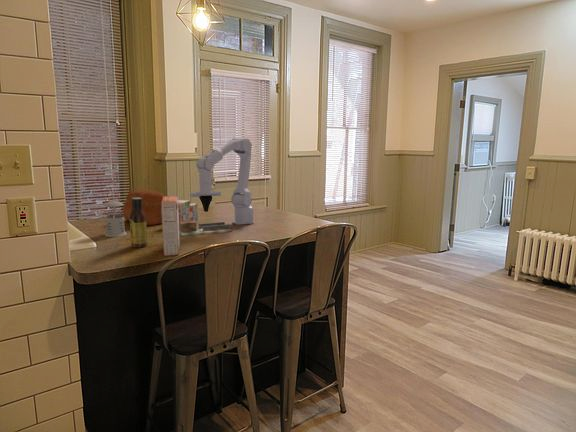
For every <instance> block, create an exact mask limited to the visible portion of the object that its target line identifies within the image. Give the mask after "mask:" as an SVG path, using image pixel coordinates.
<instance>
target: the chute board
mask: <svg viewBox="0 0 576 432" xmlns="http://www.w3.org/2000/svg"><path fill="white" fill-rule="evenodd" d="M231 232H233V230H232V229H230V228H229V229H221V230H210V231H203V228H199V226H197V231H189V232H181V231H180V230H179V236H180V237H188V236H189V237H190V236H200V235H211V234H212V235H213V234H221V233H231Z"/></svg>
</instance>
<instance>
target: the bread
mask: <svg viewBox="0 0 576 432" xmlns="http://www.w3.org/2000/svg"><path fill="white" fill-rule="evenodd" d="M137 197H139V198H142V210H143V211H144V212H145V215H146V226H153V225H154V226H155V225H160V224H161V225H162V210H161V202H162V199H163V197H165V195H164V194H163V193H162V192H160V191H157V190H151V189H143V188H141V189H133V190H131V191H130V192H129V193H128V194H127V195H126V197H125V198H126V199H125V203H123V204H124V205H123V210H122V213H123V214H122V216H124V220H126V221H127V222H130V215H131V212H132V198H137Z"/></svg>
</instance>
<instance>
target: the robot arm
mask: <svg viewBox="0 0 576 432" xmlns="http://www.w3.org/2000/svg"><path fill="white" fill-rule="evenodd" d="M252 146H253V143H252V142H251V140H250V139H249V138H235V137H233V138H231V139H229V140H228V142H227V143H226V144H225V145H224V146H223V145H222V147H220V148H219V149H216V148H215V149H211V151H210V152H209V153H208V154H205V155H204V157H203V156H202V157H199V158H198V159H197V161H196V163H195V165H196V168H197V170H198V184H199V191H196V192H195V191H194V192H189V197H190V198H199V201H200V202H201V205H202V207H203V212H204V213H208V212H209V209H210V205H211V202H212V201H213V197H221V196H222V192H221V191H212V189H213V188H212V187H213V186H212V177H213V176H212V170H213V169H214V167H215V165H216V164H218V163H220V162H221V161H222V160H223V159H224V156H226V155H227V154H228V153H230V152H232V151H233V152H234V153H236V154H237V155H238V157H239V161H240V162H239V168H238V177H237V186H236V188H235V189H234V190H233V193H232V196H231V199H230V201H231V203H232V205H233V207H234V220H233V221H231V223H233V224H235V225H237V226H238V225H250V224H251V225H252V224H255V222H254V208H253V207H252V206H251V204H252V192H251V191H250V190H249V188H248V187H249V180H250V171H251V170H250V169H251V162H252V148H253V147H252Z"/></svg>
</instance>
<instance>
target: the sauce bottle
mask: <svg viewBox="0 0 576 432" xmlns="http://www.w3.org/2000/svg"><path fill="white" fill-rule="evenodd" d="M129 229H130V231H129V232H130V243H131V247H132V248H144V247H146V246H147V245H148V231H147V225H146V215H145V212H144V211H143V210H142V198H139V197H137V198H132V212H131V215H130V221H129Z"/></svg>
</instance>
